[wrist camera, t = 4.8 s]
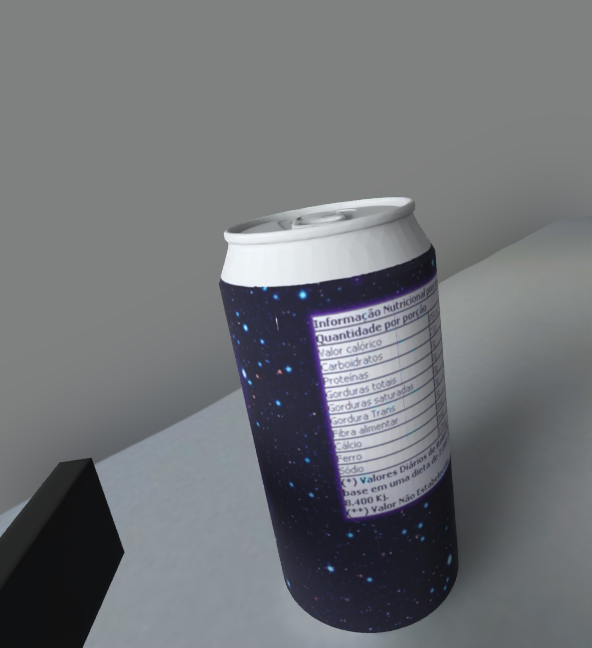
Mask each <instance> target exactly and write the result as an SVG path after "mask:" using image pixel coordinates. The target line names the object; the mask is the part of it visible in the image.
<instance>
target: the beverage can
mask: <svg viewBox="0 0 592 648" xmlns="http://www.w3.org/2000/svg"><path fill="white" fill-rule="evenodd" d="M414 210H415V202H414V201H413V200H412V199H410V198H402V197H394V198H393V197H391V198H376V199H375V198H374V199H364V200H355V201H348V202H340V203H333V204H326V205H320V206H314V207H308V208H303V209H297V210H292V211H287V212H282V213H278V214H273V215H268V216H264V217H260V218H257V219H253V220H249V221H246V222H243V223H240V224H237V225H234V226H232V227H230V228H228V229H226V230H225V232H224V237H225V240H226V241H227V242H228V244H229V246H228V252H227V256H226V259H225V263H224V267H223V271H222V274H221V278H220V283H219V286H220V290H221V295H222V299H223V304H224V308H225V313H226V317H227V322H228V326H229V331H230V335H231V340H232V344H233V349H234V353H235V358H236V362H237V367H238V371H239V376H240V380H241V385H242V390H243V394H244V399H245V403H246V408H247V412H248V417H249V421H250V426H251V430H252V435H253V439H254V444H255V448H256V453H257V457H258V462H259V466H260V471H261V475H262V480H263V484H264V489H265V493H266V498H267V502H268V507H269V511H270V516H271V520H272V525H273V529H274V534H275V538H276V543H277V547H278V552H279V556H280V561H281V565H282V570H283V574H284V579H285V582H286V585H287V588H288V590H289V592H290V593H291V595H292V597H293V598H294V600H295V601H296V602H297V603H298V605H299V606H300V607H301V608H302V609H303V610H305V611H306V612H307V613H308V614H310V615H311V616H312V617H314V618H315V619H317V620H319V621H321V622H323V623H325V624H327V625H329V626H332V627H335V628H338V629H342V630H346V631H351V632H360V633H377V632H386V631H392V630H396V629H400V628H403V627H406V626H408V625H411V624H413V623H415V622H417V621H419V620H421V619H423V618H424V617H426V616H427V615H429V614H430V613H432V612H433V611H434V610H435V609H436V608H438V607H439V606H440V604H441V603H442V602H443V601H444V600H445V599H446V597H447V596H448V594H449V593H450V591H451V589H452V587H453V585H454V583H455V580H456V577H457V572H458V547H457V534H456V521H455V508H454V494H453V481H452V468H451V454H450V441H449V428H448V414H447V401H446V388H445V375H444V361H443V348H442V335H441V321H440V308H439V295H438V281H437V268H436V256H435V249H434V248H433V246H432V244H431V242H430V241H429V239H428V238H427V236H426V235H425V233H424V232H423V230H422V228H421V227H420V225H419V224H418V222H417V220H416V219H415V217H414V214H413V211H414Z"/></svg>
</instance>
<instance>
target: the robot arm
mask: <svg viewBox="0 0 592 648" xmlns="http://www.w3.org/2000/svg"><path fill="white" fill-rule="evenodd" d="M123 555H124V549H123V546H122V544H121V541H120V538H119V535H118V532H117V529H116V526H115V524H114V521H113V518H112V515H111V512H110V509H109V506H108V504H107V501H106V498H105V495H104V492H103V489H102V486H101V484H100V481H99V478H98V475H97V472H96V469H95V466H94V464H93V461H92V458H87V459H81V460H74V461H68V462H60V463H59V464H58V465H57V467H56V468H55V469H54V470H53V472H52V473H51V474H50V475H49V477H48V478H47V479H46V480H45V482H44V483H43V484H42V486H41V487H40V488H39V489H38V490H37V492H36V493H35V494H34V496H33V497H32V498H31V499H30V501H29V502H28V503H27V504H26V506H25V507H24V508H23V509H22V511H21V512H20V513H19V515H18V516H17V517H16V518H15V520H14V521H13V522H12V523H11V525H10V526H9V527H8V528H7V530H6V531H5V532H4V533H3V535H2V536H1V537H0V648H83V646H84V643H85V641H86V639H87V637H88V634H89V632H90V630H91V627H92V625H93V623H94V621H95V618H96V616H97V614H98V611H99V609H100V607H101V605H102V602H103V600H104V598H105V596H106V593H107V591H108V589H109V586H110V584H111V582H112V580H113V577H114V575H115V573H116V571H117V568H118V566H119V564H120V561H121V559H122V557H123Z"/></svg>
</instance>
